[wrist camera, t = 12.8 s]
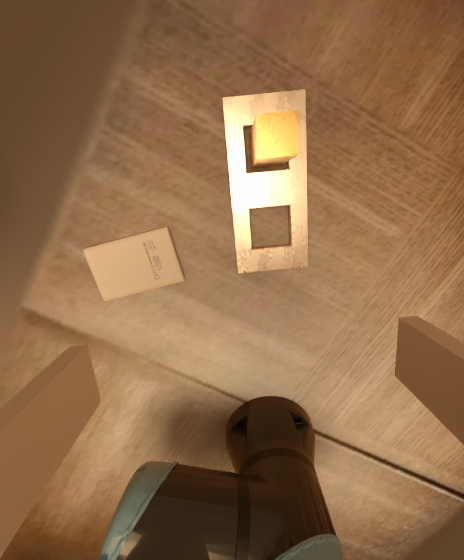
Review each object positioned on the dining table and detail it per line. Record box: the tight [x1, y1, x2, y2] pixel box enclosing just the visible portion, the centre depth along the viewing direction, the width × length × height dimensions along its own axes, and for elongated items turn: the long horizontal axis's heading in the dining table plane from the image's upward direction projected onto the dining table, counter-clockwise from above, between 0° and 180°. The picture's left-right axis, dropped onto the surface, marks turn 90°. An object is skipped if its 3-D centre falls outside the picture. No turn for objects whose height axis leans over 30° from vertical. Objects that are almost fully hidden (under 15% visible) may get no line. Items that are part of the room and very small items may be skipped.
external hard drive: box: [83, 226, 185, 301], centre depth 41 cm, size 2×8×12 cm
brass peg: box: [249, 110, 299, 168], centre depth 32 cm, size 4×4×10 cm
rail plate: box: [223, 90, 308, 273], centre depth 38 cm, size 22×10×2 cm, turn 5°
